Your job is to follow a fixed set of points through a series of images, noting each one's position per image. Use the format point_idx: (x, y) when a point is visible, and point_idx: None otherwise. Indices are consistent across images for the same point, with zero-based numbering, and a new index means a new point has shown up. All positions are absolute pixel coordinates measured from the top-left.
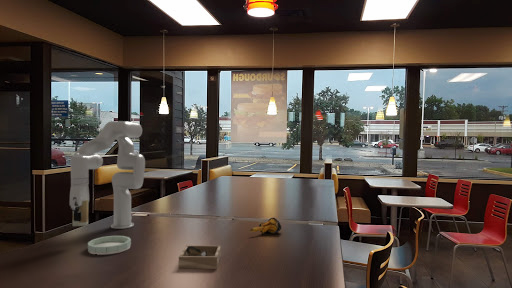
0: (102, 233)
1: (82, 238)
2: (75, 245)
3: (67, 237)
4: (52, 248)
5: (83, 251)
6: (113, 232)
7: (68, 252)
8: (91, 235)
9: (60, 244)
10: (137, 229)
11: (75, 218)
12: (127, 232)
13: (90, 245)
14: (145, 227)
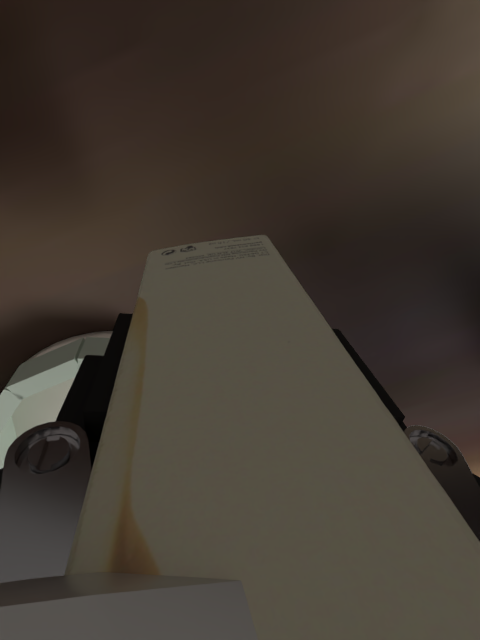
0: (461, 284)
1: (383, 189)
2: (198, 206)
3: (469, 26)
4: (113, 9)
5: (54, 314)
6: (453, 338)
7: (14, 222)
8: (442, 229)
9: (243, 47)
10: (457, 424)
11: (82, 373)
12: (419, 401)
13: (3, 399)
14: (477, 442)
